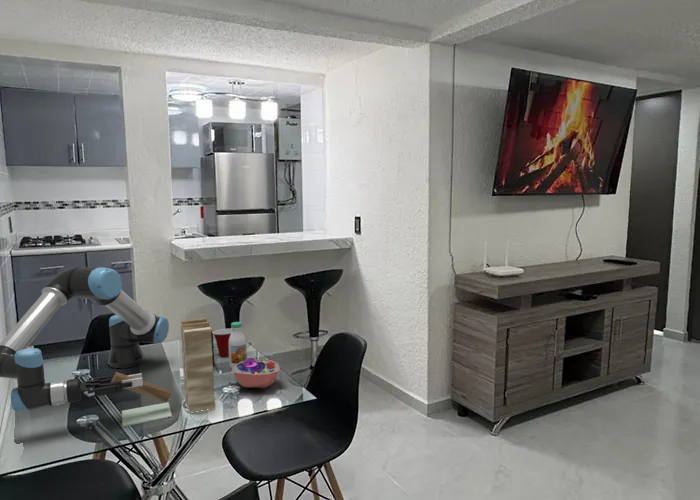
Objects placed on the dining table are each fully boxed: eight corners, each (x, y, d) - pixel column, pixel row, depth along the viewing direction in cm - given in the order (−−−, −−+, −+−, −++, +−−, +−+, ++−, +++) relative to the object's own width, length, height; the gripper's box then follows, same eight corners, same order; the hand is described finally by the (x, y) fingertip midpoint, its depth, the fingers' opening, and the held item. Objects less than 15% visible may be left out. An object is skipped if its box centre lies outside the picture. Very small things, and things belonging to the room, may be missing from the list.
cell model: (263, 399, 195) (262, 370, 194) (223, 389, 205) (222, 362, 203) (289, 383, 210) (289, 356, 208) (251, 374, 220) (250, 349, 218)
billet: (111, 381, 179) (115, 371, 179) (165, 398, 188) (170, 390, 188) (111, 384, 176) (116, 375, 176) (166, 402, 184) (171, 393, 185)
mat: (121, 412, 186) (121, 410, 186) (168, 403, 192) (168, 402, 192) (122, 426, 175) (122, 425, 175) (172, 417, 182) (171, 415, 182)
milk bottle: (225, 368, 227) (223, 324, 224) (236, 362, 234) (234, 319, 231) (240, 370, 224) (238, 326, 221) (250, 364, 231) (248, 321, 228)
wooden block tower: (185, 400, 195) (180, 319, 190) (209, 396, 199) (205, 316, 194) (189, 413, 184) (184, 328, 180) (215, 408, 188) (210, 324, 183)
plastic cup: (231, 349, 252) (230, 325, 250) (241, 355, 244) (240, 330, 242) (210, 354, 245) (208, 330, 244) (219, 360, 237) (218, 335, 235)
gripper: (69, 393, 180) (141, 381, 190) (65, 412, 165) (144, 398, 175) (67, 372, 179) (140, 361, 189) (63, 389, 164) (142, 377, 174)
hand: (142, 379), depth 182 cm, fingers closed on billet, 3 cm apart
